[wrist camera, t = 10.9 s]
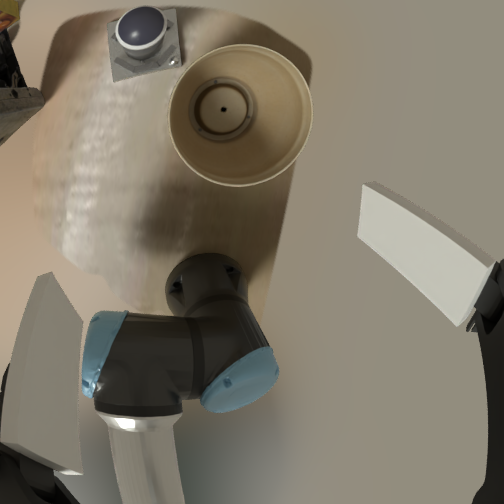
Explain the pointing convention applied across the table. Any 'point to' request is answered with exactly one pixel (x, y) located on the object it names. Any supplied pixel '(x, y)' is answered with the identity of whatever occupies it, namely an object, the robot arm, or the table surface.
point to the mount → (162, 60)
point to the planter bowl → (240, 115)
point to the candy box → (8, 13)
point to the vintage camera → (14, 92)
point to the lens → (142, 31)
